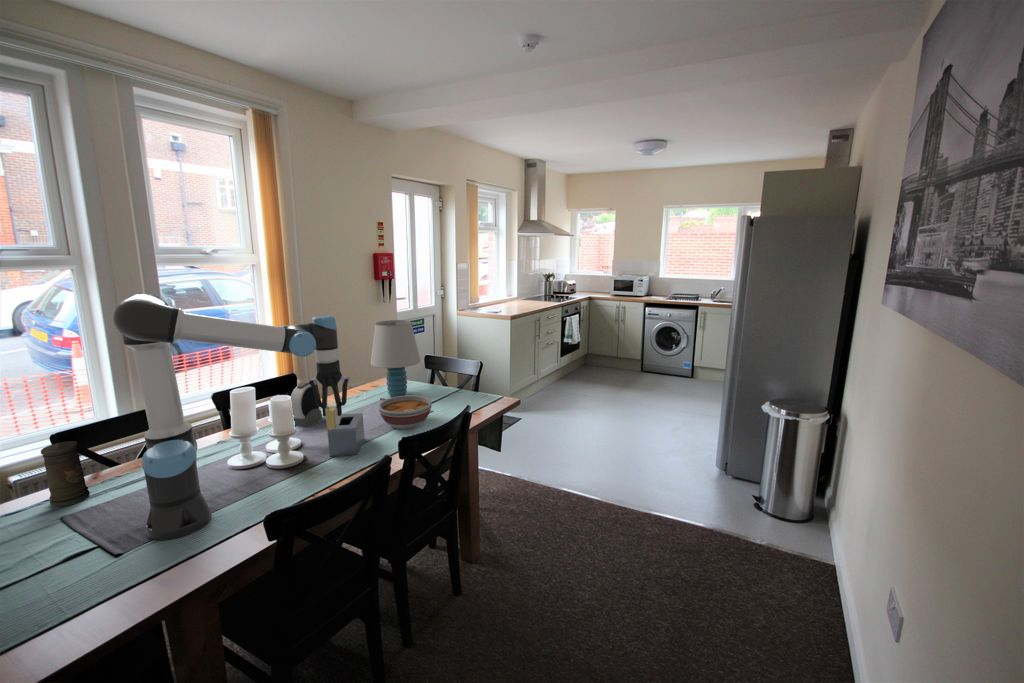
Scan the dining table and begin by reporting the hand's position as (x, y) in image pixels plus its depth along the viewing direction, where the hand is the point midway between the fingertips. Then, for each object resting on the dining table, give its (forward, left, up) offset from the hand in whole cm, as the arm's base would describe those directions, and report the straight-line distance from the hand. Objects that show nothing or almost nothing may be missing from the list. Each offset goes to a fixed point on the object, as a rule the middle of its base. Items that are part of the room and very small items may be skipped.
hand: (333, 424), depth 166 cm
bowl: (+36, -22, -16) cm, 45 cm away
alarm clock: (+47, +23, -16) cm, 55 cm away
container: (-12, +78, -16) cm, 81 cm away
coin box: (+15, -1, -16) cm, 21 cm away
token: (0, 0, -1) cm, 1 cm away
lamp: (+79, -14, -16) cm, 82 cm away
